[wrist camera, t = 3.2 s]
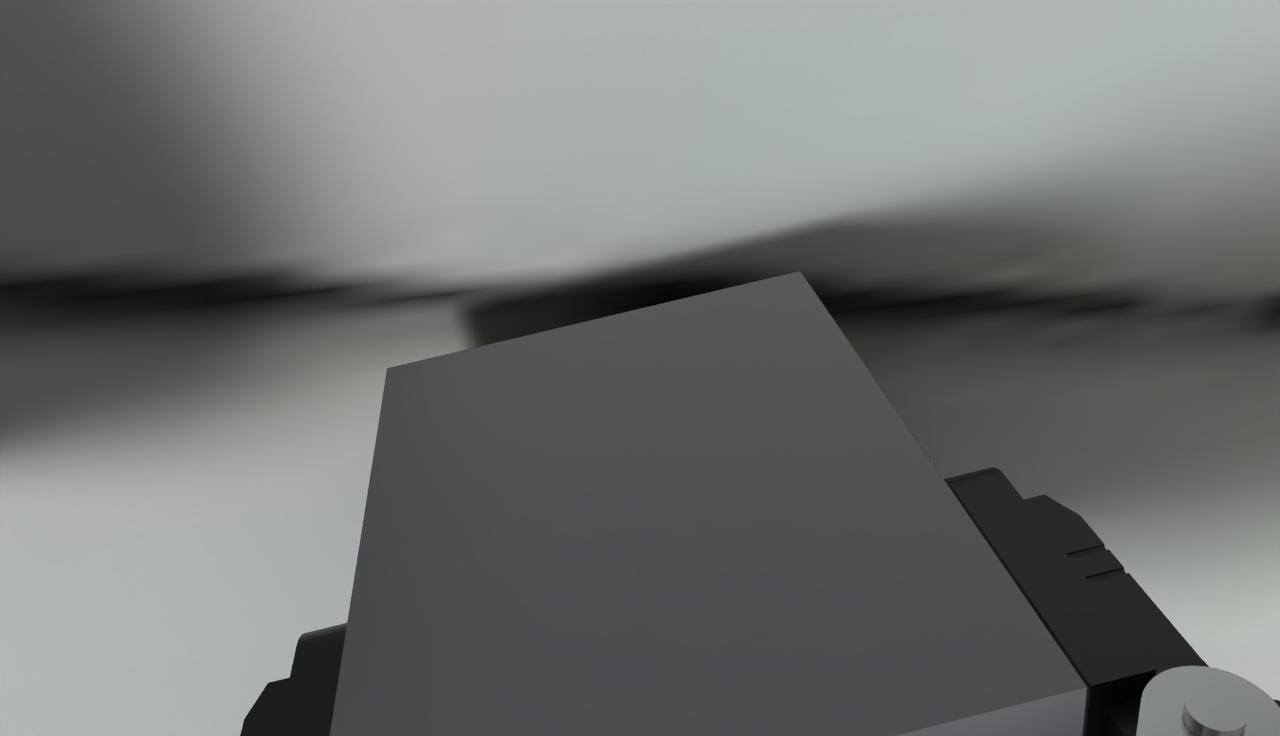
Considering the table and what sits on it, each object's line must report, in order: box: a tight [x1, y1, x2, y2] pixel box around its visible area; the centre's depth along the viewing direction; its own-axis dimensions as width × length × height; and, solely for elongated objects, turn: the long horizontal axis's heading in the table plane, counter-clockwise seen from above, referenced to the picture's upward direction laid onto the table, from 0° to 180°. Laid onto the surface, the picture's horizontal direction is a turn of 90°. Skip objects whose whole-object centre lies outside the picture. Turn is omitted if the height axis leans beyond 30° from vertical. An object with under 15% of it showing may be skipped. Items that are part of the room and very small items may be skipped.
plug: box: [330, 271, 1087, 736], centre depth 12 cm, size 7×6×8 cm
